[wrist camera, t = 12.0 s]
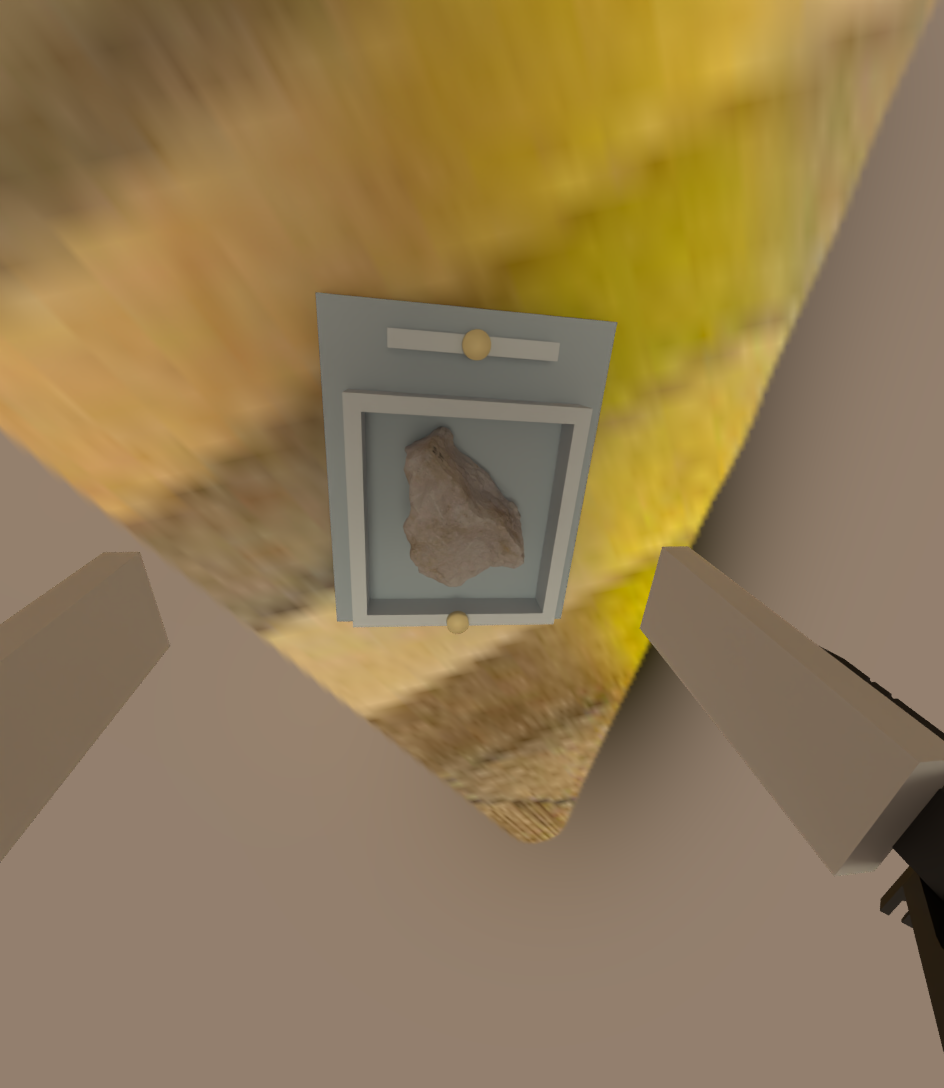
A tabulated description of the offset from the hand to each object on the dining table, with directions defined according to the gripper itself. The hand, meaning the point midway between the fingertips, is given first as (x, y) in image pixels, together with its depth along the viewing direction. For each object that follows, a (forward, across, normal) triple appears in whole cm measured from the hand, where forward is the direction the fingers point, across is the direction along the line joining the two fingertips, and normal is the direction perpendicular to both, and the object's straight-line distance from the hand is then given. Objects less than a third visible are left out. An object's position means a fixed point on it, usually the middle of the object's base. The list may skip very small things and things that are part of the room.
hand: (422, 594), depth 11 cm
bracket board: (+20, +3, -3) cm, 20 cm away
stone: (+19, +2, -4) cm, 19 cm away
